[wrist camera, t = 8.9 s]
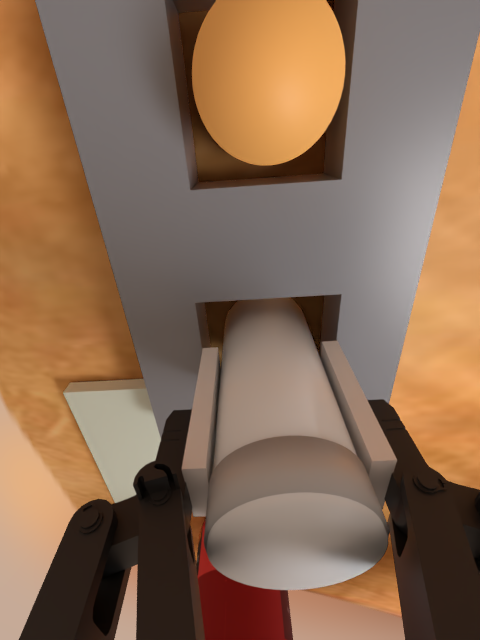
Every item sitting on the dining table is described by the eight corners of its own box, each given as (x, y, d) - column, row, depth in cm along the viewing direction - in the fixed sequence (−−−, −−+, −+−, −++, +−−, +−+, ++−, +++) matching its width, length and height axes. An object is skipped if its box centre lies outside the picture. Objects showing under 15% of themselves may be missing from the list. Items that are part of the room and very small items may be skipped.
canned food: (184, 520, 30) (159, 695, 20) (255, 494, 28) (263, 677, 18) (227, 552, 33) (222, 717, 24) (293, 531, 31) (317, 703, 22)
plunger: (311, 156, 13) (337, 160, 10) (211, 163, 13) (202, 170, 10) (318, 19, 11) (354, -37, 8) (198, 30, 11) (180, -22, 8)
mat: (263, 486, 27) (264, 498, 26) (119, 492, 28) (115, 503, 27) (258, 372, 21) (259, 382, 20) (70, 382, 21) (63, 392, 20)
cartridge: (305, 359, 20) (375, 589, 10) (226, 363, 20) (213, 593, 10) (309, 286, 18) (410, 493, 7) (218, 292, 18) (190, 502, 7)
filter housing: (365, 394, 22) (382, 428, 19) (170, 404, 22) (160, 438, 20) (453, -70, 11) (521, -139, 8) (63, -34, 11) (9, -88, 9)
